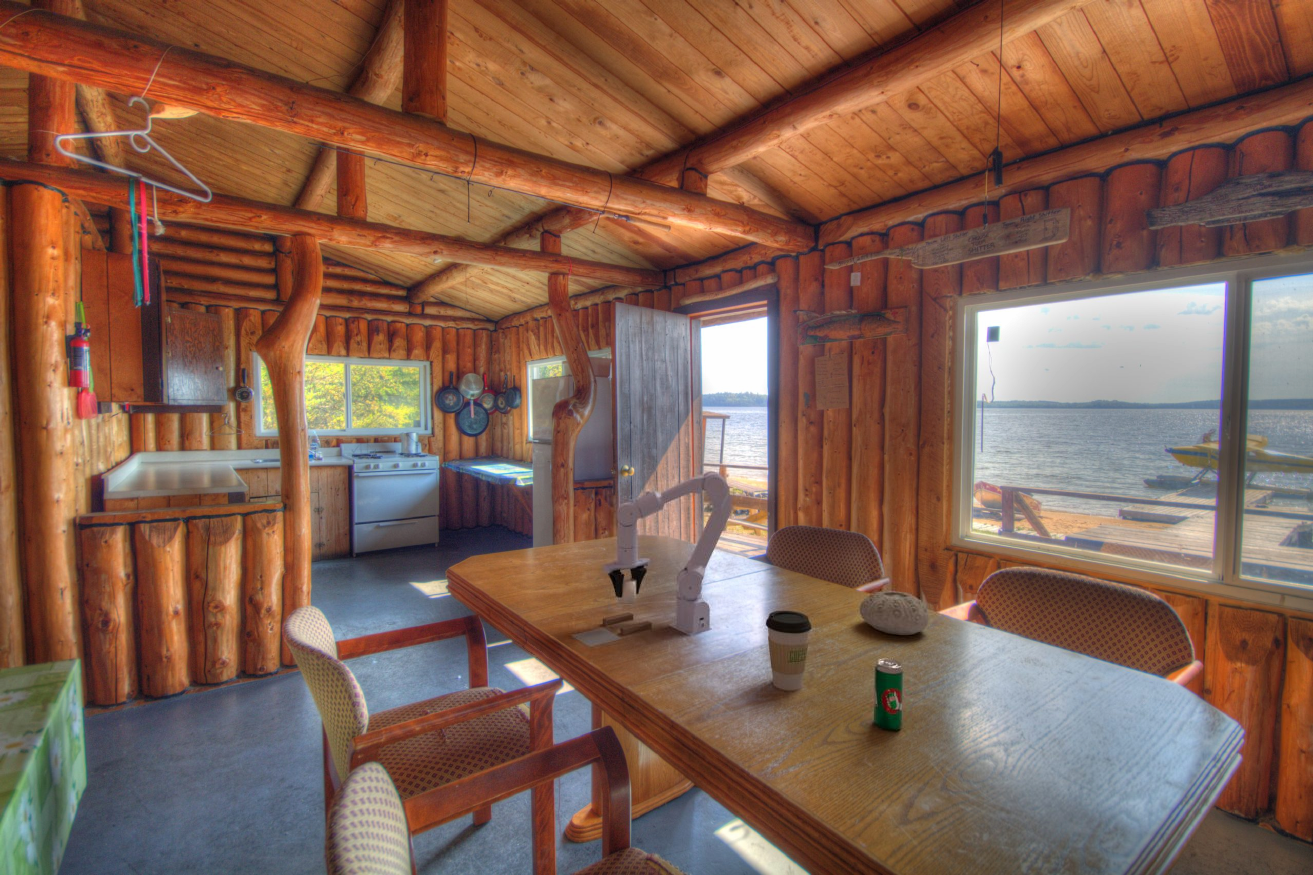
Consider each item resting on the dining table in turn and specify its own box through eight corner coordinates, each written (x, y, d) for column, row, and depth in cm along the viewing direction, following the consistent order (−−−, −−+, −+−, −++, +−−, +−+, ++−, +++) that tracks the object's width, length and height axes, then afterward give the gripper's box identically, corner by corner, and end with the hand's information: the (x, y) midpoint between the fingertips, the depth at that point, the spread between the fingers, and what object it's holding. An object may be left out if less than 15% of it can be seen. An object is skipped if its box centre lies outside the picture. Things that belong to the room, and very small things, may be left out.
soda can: (878, 715, 117) (880, 655, 117) (905, 724, 114) (906, 662, 113) (869, 725, 113) (870, 663, 113) (897, 734, 110) (898, 670, 109)
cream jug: (639, 602, 165) (639, 580, 164) (624, 605, 162) (624, 583, 161) (625, 595, 170) (625, 575, 170) (610, 598, 167) (610, 577, 167)
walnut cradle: (651, 630, 164) (651, 622, 164) (624, 637, 158) (624, 629, 158) (629, 619, 172) (629, 612, 172) (602, 625, 167) (602, 618, 167)
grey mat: (622, 639, 156) (622, 638, 156) (589, 648, 150) (589, 646, 150) (602, 629, 164) (602, 627, 164) (570, 636, 158) (570, 635, 158)
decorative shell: (862, 637, 159) (863, 600, 159) (856, 616, 177) (857, 582, 176) (934, 643, 155) (935, 606, 155) (921, 621, 172) (922, 587, 172)
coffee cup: (815, 694, 126) (816, 624, 125) (768, 694, 126) (769, 624, 125) (804, 674, 135) (805, 609, 135) (761, 674, 136) (762, 609, 135)
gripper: (640, 540, 172) (640, 587, 173) (597, 547, 164) (597, 595, 164) (654, 545, 167) (654, 593, 167) (611, 551, 158) (610, 602, 158)
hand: (627, 595), depth 165 cm, fingers closed on cream jug, 5 cm apart
